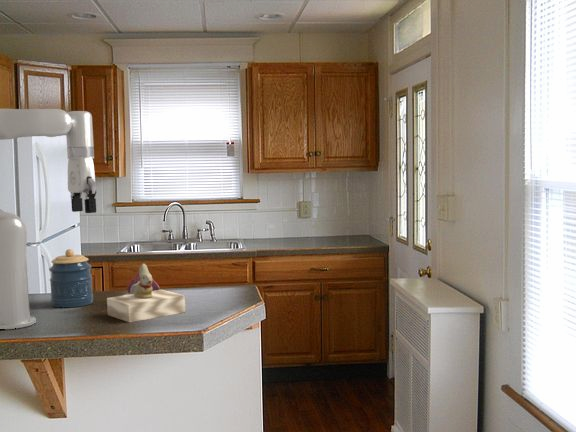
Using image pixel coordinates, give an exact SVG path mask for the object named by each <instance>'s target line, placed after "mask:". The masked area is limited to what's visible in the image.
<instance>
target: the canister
mask: <svg viewBox="0 0 576 432" xmlns="http://www.w3.org/2000/svg"><path fill="white" fill-rule="evenodd" d="M88 261H89V258H88V257H86V256H85V255H84V254H83V255H82V254H75V253H74V250H73V249H70V248H69V249H66V250H65V254H64V255H58V256H55V258H54V259H52V260H51V264H52V266H50V267H49V268H48V270H49V271H50V278H49V281H50V302H51V303H50V304H51V306H52V307H55V308H60V307H62V309H63V308H64V307H69V308H79V307H84V306H87V305H91V304H92V303H93V302H94V301H93V300H94V293H93V280H92V279H93V276H92V274H91V268H92V265H91V264H89V263H88ZM64 309H65V308H64Z"/></svg>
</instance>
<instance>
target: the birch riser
mask: <svg viewBox="0 0 576 432" xmlns="http://www.w3.org/2000/svg"><path fill="white" fill-rule="evenodd" d="M106 304H107V315H108V316H110V317H112V318H115V319H118V320H121V321H124V322H126V323H134V322H135V323H136V322H139V321H144V320H145V321H146V320H150V319H151V320H152V319H156V318H162V317H167V316H172V315H177V314H182V313H186V296H185V294H182V293H181V294H180V293H177V292H172V291H168V290H165V289H159V290H155V291H152V298H148V299H142V298H136V297H135V296H134V294H130V295H125V294H123V295H118V296H112V297H111V296H110V297H107V298H106Z"/></svg>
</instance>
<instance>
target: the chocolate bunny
mask: <svg viewBox="0 0 576 432" xmlns="http://www.w3.org/2000/svg"><path fill="white" fill-rule="evenodd" d="M138 272H139V276H138V278H139V279H140V282H139V283H138V284H137V285H136V287H135V291H134V296H135V297H136V298H142V299H148V298H152V290H153V288H152V282H153V281H152V278H153V276H152V274H151V273H150V271H149V269H148V266H147V264H146V263H142V264H141V266H140V267H139V270H138Z"/></svg>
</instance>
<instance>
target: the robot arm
mask: <svg viewBox="0 0 576 432" xmlns="http://www.w3.org/2000/svg"><path fill="white" fill-rule="evenodd" d="M62 136H65V137H66V139H65V140H66V152H67V154H66V156H67V160H68V162H67V190H68V191H67V192H69V193H70V204H71V211H72V212H74V213H76V212H83V211H84V212H85V214H94V213H97V195H96V194H97V186H98V184H97V183H96V174H95V173H96V171H95V165H94V159H95V147H94V129H93V116H92V113H91V112H89V111H87V110H72V111H68V112H67V111H65V110H64V109H60V108H25V109H24V108H21V109H20V108H0V141H3V140H5V141H6V140H14V139H18V138H25V137H26V138H28V137H30V138H31V137H47V138H55V137H62ZM82 193H83V195H84V197H85V199H84V204H83V197H82ZM83 205H84V208H83ZM27 236H28V234H27V227H26V224H25V222H24V221H23V219H22V218H21V217H20V216H19V215H17V214H15V213H12V212H7V211H4V210H2V209H0V329H5V330H14V329H15V328H16V329H21V328H26V327H29V326H32V325H35V324H34V323H37V318H36V317H35V316H31V315H30V314H31V313H30V298H29V297H30V296H29V295H30V293H29V281H28V280H29V279H28V268H27V267H28V266H27V265H28V264H27V240H28V239H27V238H28V237H27ZM16 329H15V330H16Z"/></svg>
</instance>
